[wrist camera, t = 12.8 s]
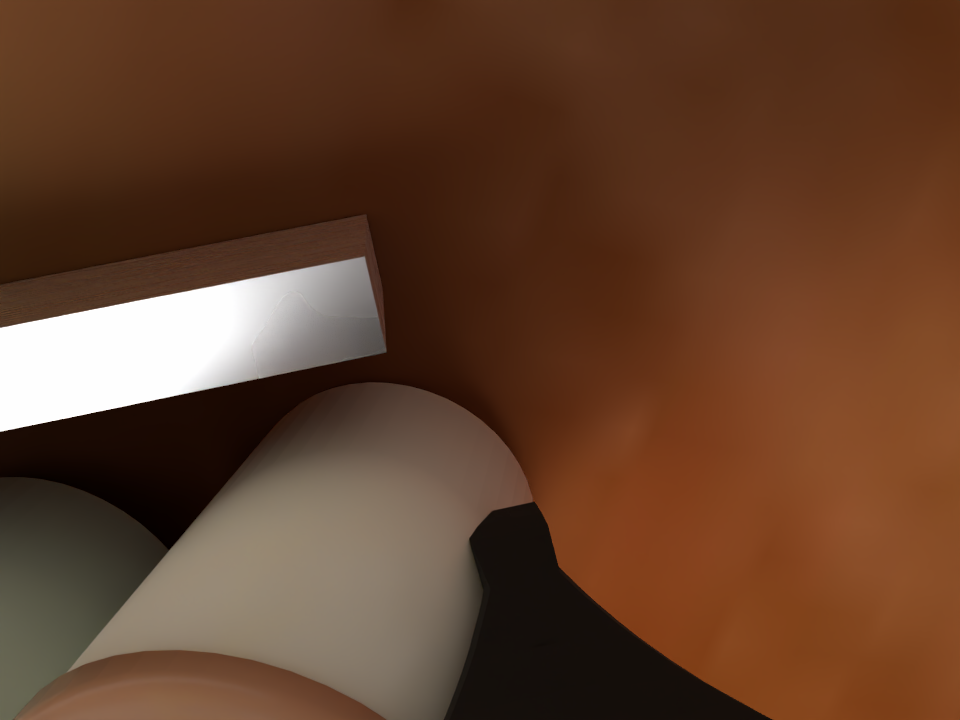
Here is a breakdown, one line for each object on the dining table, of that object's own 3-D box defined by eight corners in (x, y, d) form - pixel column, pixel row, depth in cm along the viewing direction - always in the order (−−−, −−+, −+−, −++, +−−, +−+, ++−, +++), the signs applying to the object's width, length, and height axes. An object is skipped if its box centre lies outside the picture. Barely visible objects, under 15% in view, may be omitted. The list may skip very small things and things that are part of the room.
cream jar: (504, 353, 12) (398, 705, 6) (567, 620, 14) (539, 1113, 7) (205, 401, 13) (-162, 739, 7) (300, 642, 15) (80, 1086, 8)
